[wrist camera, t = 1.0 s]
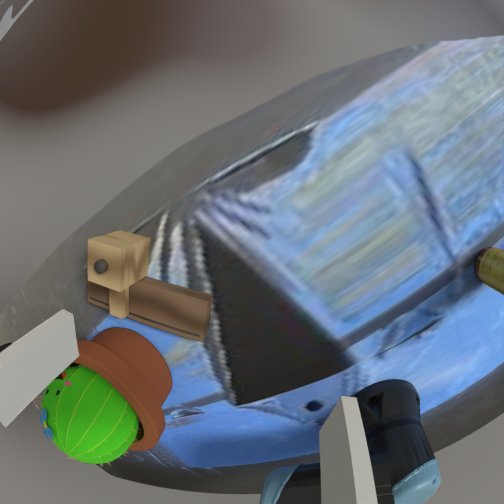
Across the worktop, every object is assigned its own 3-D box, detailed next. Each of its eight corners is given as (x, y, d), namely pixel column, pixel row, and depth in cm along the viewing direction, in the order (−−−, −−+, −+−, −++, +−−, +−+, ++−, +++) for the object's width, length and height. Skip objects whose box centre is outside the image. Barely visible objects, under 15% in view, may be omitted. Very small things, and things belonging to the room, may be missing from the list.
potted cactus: (204, 402, 45) (157, 509, 21) (124, 406, 49) (70, 479, 25) (148, 301, 41) (42, 391, 17) (74, 325, 46) (-9, 384, 22)
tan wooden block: (145, 310, 42) (117, 335, 33) (117, 300, 42) (86, 321, 34) (150, 237, 39) (117, 250, 30) (119, 230, 39) (83, 240, 31)
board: (207, 334, 41) (202, 342, 39) (96, 296, 43) (87, 301, 41) (212, 294, 39) (207, 301, 37) (95, 260, 41) (86, 264, 39)
